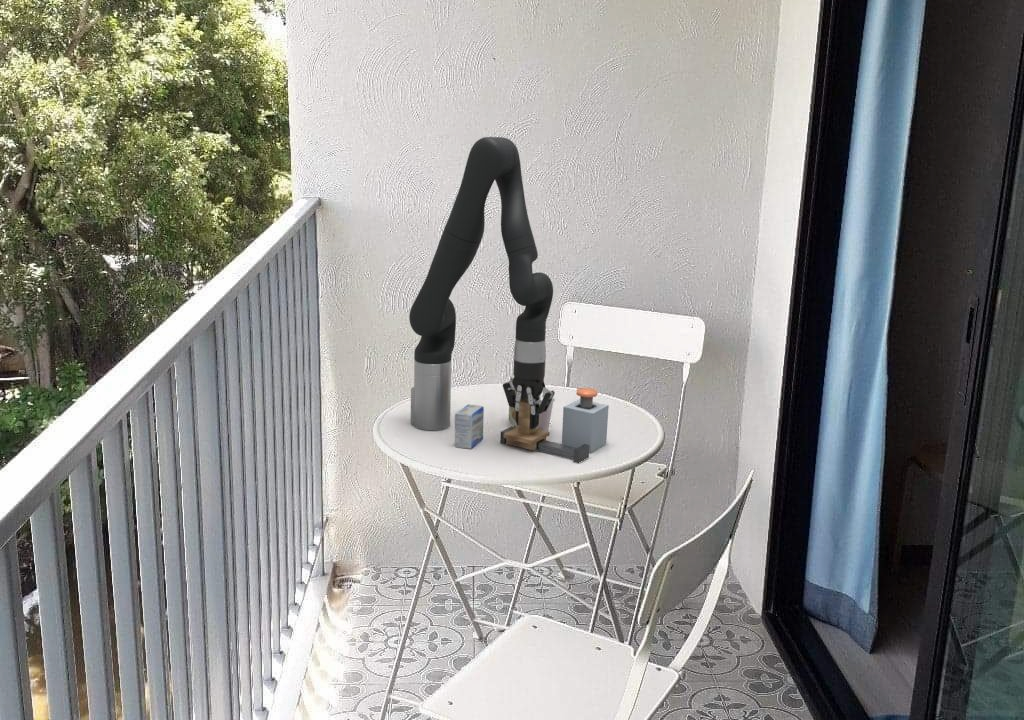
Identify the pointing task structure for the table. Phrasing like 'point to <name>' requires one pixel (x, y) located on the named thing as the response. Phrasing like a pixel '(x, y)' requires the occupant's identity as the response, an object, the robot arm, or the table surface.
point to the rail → (556, 448)
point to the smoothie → (545, 416)
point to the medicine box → (469, 426)
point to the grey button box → (585, 425)
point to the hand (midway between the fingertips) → (527, 426)
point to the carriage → (525, 430)
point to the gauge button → (586, 397)
